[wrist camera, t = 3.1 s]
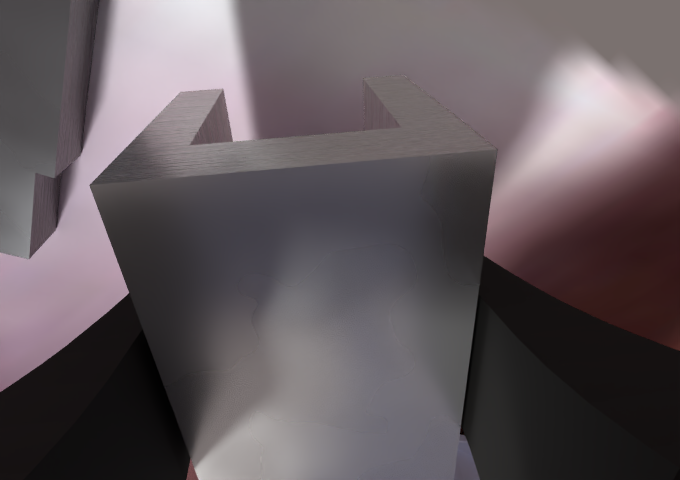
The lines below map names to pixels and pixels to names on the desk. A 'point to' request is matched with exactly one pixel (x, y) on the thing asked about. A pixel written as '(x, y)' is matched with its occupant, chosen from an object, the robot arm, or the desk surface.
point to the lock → (307, 284)
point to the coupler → (40, 111)
